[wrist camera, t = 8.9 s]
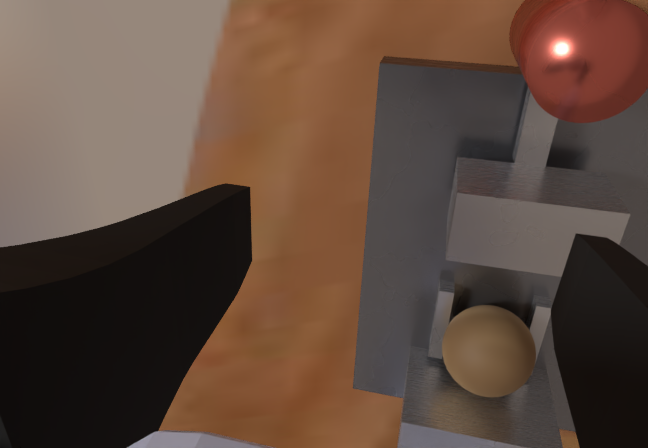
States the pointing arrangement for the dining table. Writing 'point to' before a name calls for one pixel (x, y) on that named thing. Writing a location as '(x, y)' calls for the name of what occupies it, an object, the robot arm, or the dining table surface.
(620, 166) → the bench
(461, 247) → the ram handle
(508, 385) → the nut
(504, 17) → the dining table surface
